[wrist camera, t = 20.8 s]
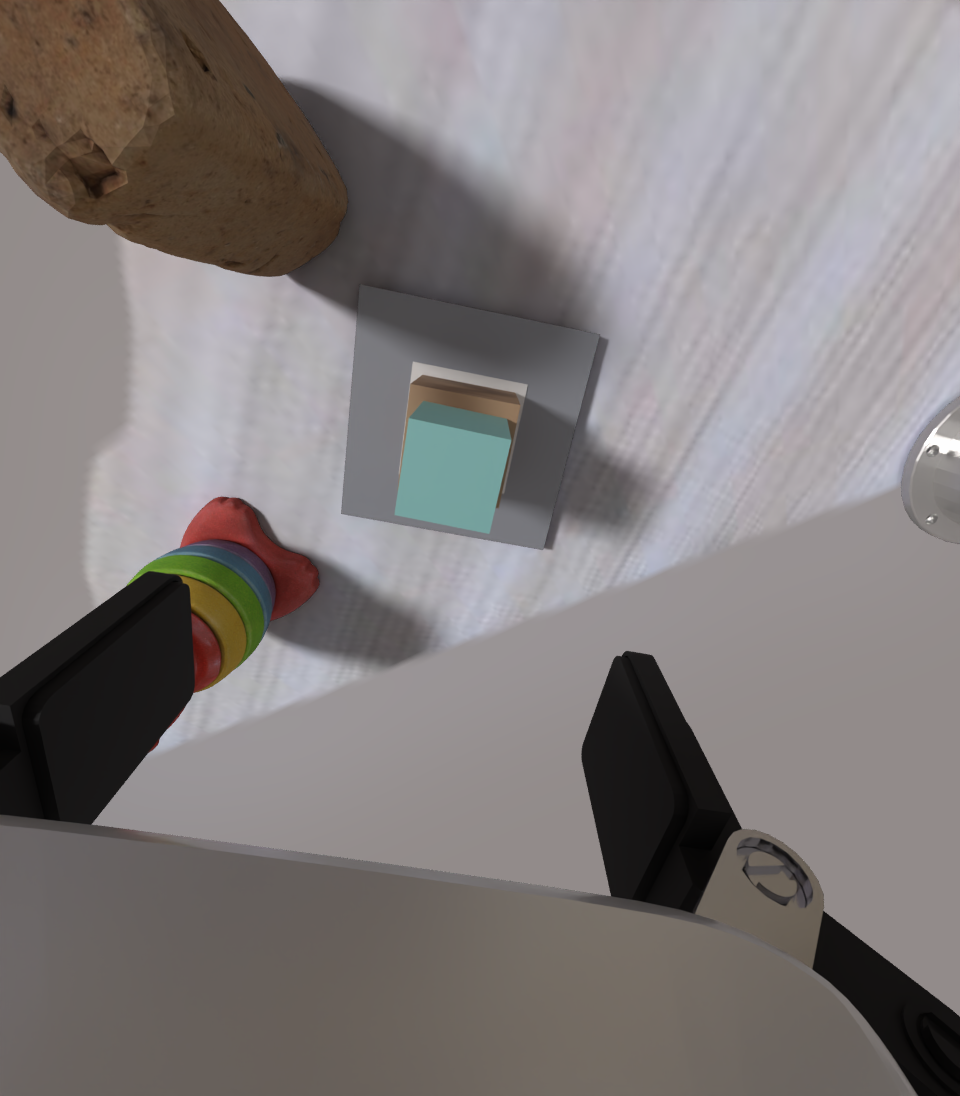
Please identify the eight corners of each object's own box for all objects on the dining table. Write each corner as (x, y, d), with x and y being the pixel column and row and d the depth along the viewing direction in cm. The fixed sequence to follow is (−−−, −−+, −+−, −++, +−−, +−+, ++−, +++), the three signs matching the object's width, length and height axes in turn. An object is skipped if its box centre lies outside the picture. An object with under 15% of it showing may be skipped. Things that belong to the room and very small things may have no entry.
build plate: (597, 334, 34) (600, 334, 33) (541, 545, 41) (543, 550, 40) (363, 285, 33) (359, 284, 32) (344, 509, 40) (340, 514, 39)
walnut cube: (515, 392, 35) (520, 405, 29) (497, 481, 37) (498, 508, 32) (422, 374, 34) (410, 383, 29) (410, 465, 37) (397, 490, 31)
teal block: (506, 418, 30) (511, 440, 24) (489, 497, 32) (489, 533, 26) (423, 400, 29) (408, 417, 24) (410, 481, 31) (394, 514, 26)
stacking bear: (331, 577, 42) (233, 735, 26) (256, 643, 45) (125, 824, 29) (226, 484, 39) (39, 598, 23) (153, 562, 42) (-61, 713, 26)
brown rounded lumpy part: (373, 229, 32) (221, 100, 14) (281, 294, 34) (33, 257, 15) (264, 32, 28) (-148, -509, 10) (165, 116, 30) (-348, -218, 11)
